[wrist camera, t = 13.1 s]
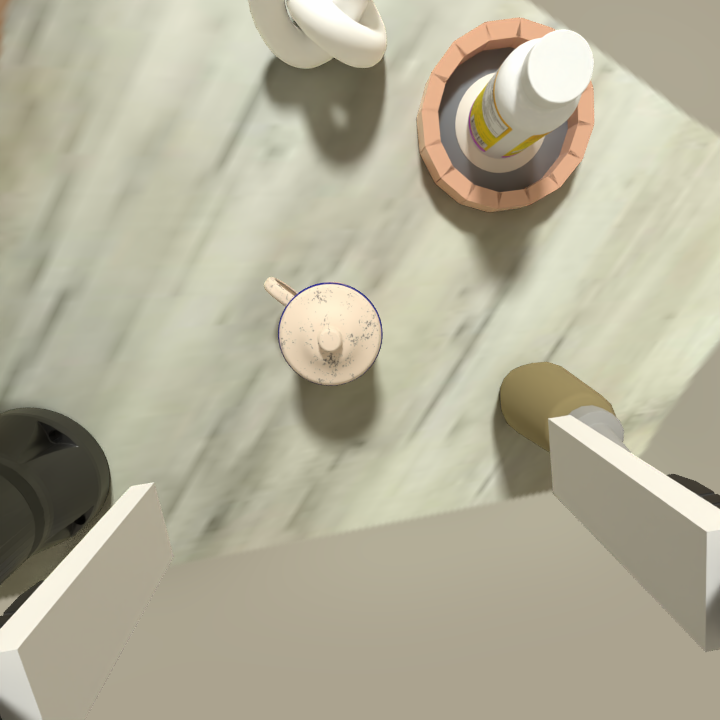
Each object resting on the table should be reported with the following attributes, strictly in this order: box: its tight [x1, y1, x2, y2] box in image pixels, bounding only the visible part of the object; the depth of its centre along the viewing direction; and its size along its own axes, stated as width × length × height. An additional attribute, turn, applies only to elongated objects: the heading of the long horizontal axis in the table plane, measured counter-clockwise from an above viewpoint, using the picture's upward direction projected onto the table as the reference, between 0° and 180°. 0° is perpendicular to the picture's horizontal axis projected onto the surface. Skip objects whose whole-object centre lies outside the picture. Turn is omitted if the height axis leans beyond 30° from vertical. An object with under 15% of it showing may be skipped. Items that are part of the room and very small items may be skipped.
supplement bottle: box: [468, 30, 594, 159], centre depth 38 cm, size 7×7×13 cm
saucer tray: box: [416, 18, 594, 212], centre depth 44 cm, size 16×16×3 cm
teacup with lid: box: [264, 277, 382, 386], centre depth 42 cm, size 12×9×12 cm
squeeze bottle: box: [500, 362, 631, 453], centre depth 42 cm, size 8×8×18 cm
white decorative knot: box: [248, 0, 387, 69], centre depth 38 cm, size 11×12×9 cm
